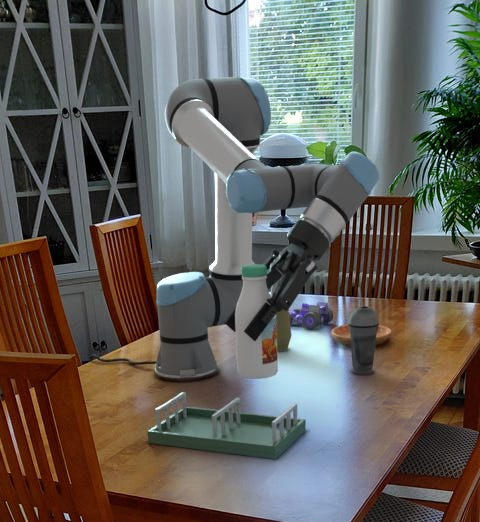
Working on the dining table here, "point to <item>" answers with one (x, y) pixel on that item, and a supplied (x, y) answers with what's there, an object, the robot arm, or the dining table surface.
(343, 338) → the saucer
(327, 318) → the toy race car
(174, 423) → the drying rack
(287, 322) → the squeeze bottle
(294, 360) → the dining table surface
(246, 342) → the milk bottle
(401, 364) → the dining table surface
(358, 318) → the beverage cup
